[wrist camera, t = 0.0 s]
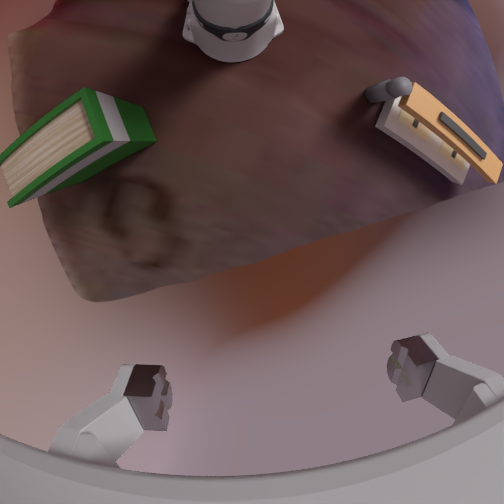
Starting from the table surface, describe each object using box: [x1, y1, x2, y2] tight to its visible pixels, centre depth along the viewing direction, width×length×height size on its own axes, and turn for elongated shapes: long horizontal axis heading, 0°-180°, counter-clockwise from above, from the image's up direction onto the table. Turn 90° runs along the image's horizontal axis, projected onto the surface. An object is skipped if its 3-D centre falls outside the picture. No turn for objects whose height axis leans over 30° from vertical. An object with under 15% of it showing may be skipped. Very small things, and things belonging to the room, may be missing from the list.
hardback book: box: [0, 87, 157, 208], centre depth 39 cm, size 18×7×24 cm, turn 111°
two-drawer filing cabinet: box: [365, 80, 470, 185], centre depth 48 cm, size 29×12×8 cm, turn 67°
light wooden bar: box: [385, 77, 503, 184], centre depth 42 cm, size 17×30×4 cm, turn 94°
